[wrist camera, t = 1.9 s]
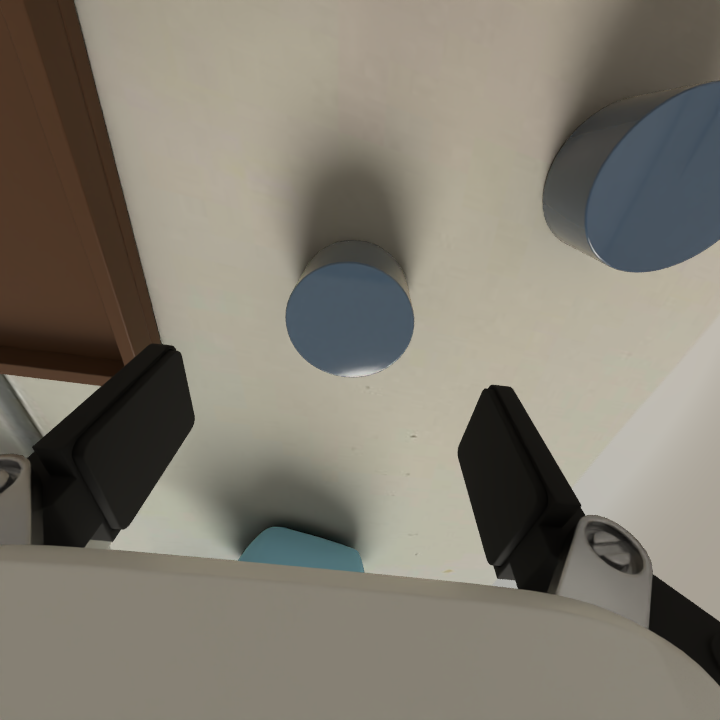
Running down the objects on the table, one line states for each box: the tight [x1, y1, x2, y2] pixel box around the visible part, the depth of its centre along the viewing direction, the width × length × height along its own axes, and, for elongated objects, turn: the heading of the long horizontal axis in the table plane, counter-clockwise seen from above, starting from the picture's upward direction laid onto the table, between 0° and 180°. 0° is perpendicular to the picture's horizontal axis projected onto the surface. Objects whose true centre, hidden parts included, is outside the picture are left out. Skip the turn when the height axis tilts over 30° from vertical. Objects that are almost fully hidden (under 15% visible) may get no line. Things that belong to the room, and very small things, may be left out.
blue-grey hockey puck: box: [543, 80, 720, 272], centre depth 12 cm, size 6×6×4 cm
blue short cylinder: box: [286, 240, 414, 377], centre depth 15 cm, size 6×6×4 cm
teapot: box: [238, 527, 364, 573], centre depth 27 cm, size 12×18×12 cm
